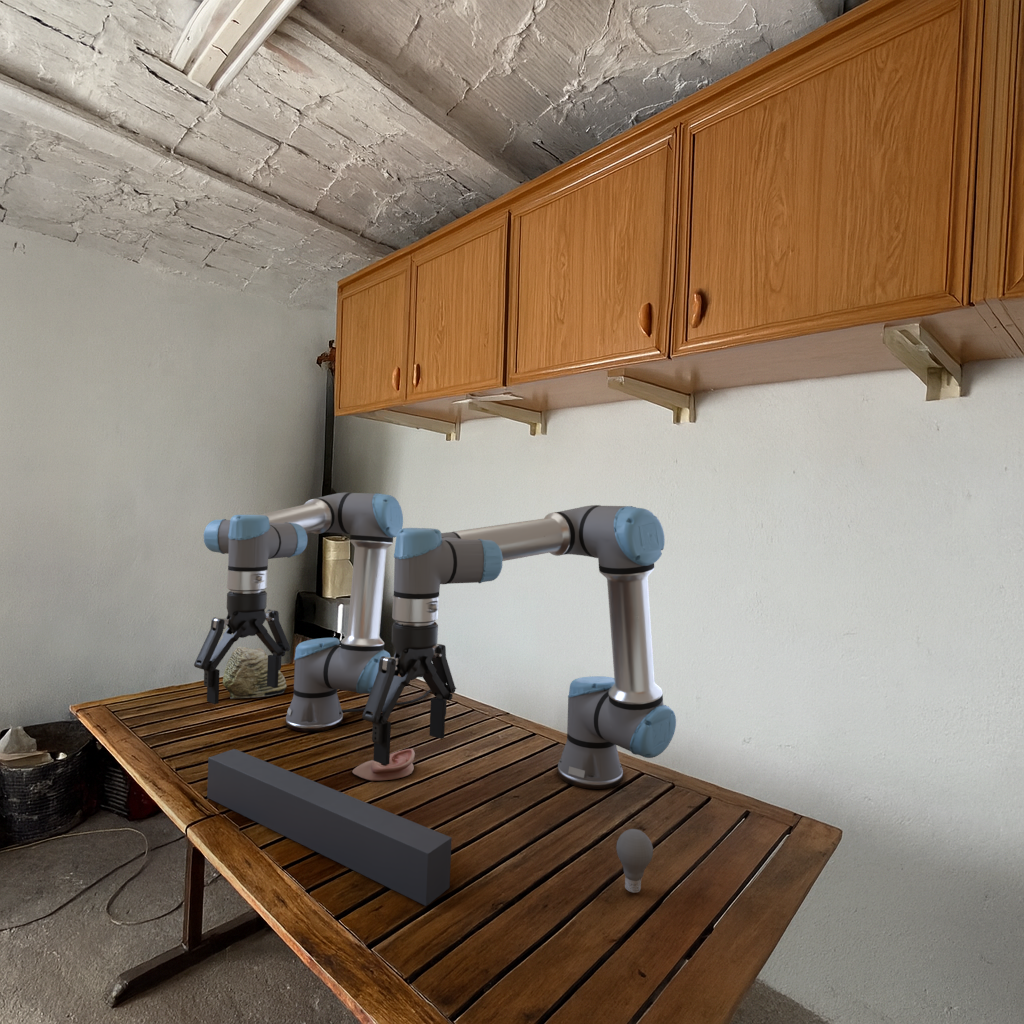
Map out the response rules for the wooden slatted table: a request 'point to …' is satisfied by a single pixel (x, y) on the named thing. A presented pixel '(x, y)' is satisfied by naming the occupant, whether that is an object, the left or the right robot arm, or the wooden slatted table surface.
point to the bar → (334, 825)
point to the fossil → (250, 674)
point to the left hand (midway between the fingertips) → (243, 694)
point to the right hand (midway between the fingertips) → (410, 748)
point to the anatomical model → (388, 767)
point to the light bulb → (634, 857)
